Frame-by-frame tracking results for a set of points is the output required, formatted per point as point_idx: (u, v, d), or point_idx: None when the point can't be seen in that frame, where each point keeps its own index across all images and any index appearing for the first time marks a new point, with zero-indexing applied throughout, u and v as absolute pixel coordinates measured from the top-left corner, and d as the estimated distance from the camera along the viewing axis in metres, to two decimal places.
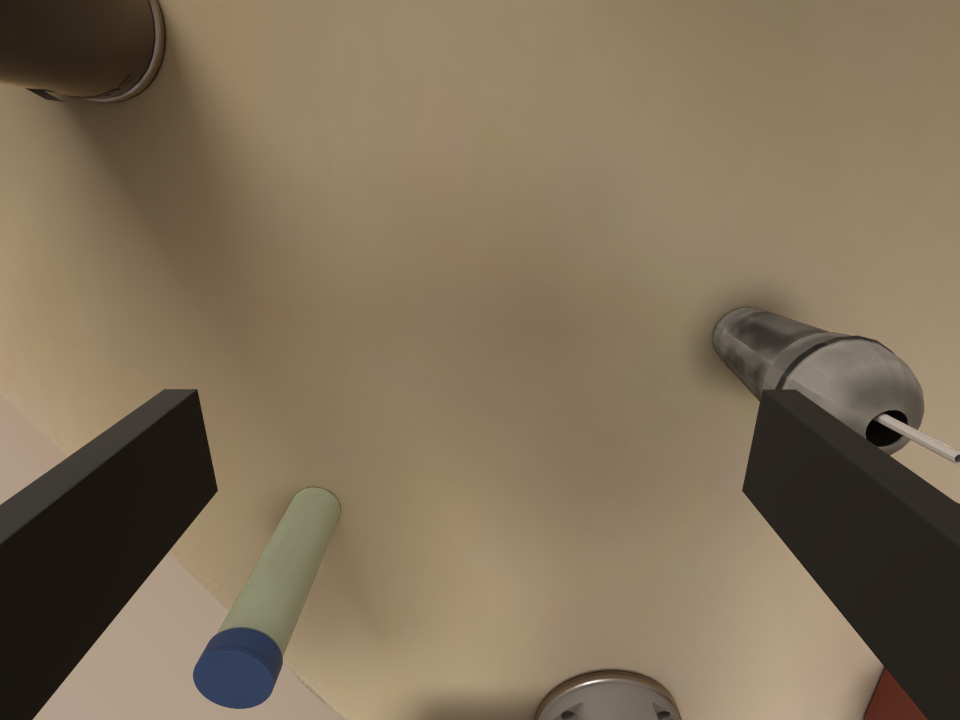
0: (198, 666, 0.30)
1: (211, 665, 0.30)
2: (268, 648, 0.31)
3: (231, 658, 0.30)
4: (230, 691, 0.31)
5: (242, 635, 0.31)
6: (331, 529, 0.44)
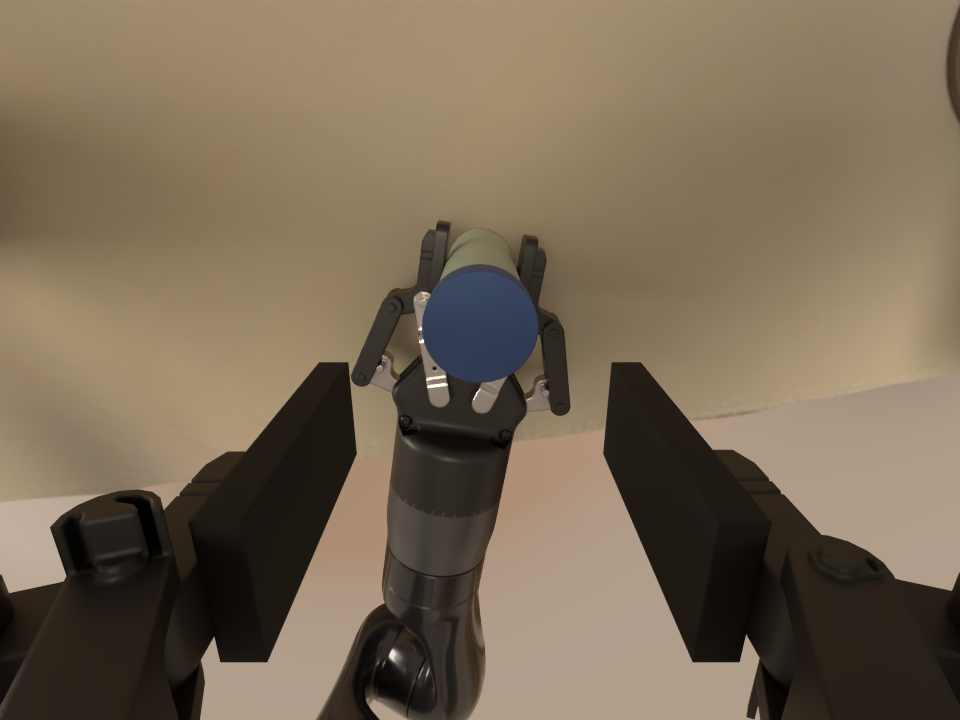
0: (435, 357, 0.21)
1: (441, 340, 0.21)
2: (468, 267, 0.21)
3: (440, 307, 0.21)
4: (496, 344, 0.21)
5: (434, 290, 0.22)
6: (493, 236, 0.33)
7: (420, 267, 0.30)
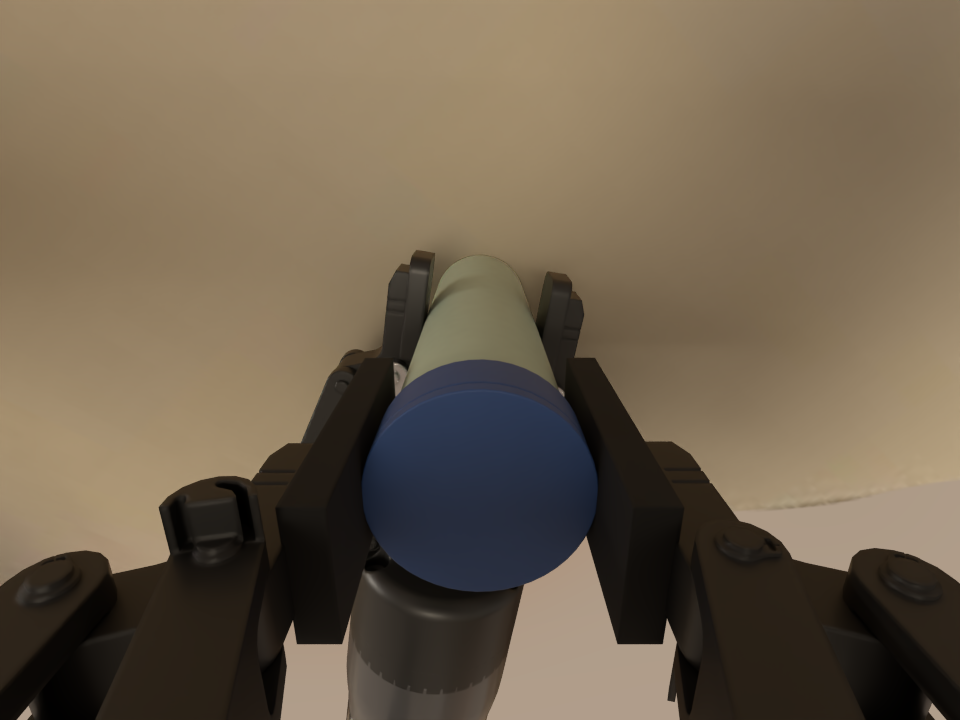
0: (391, 548, 0.11)
1: (401, 518, 0.10)
2: (456, 371, 0.10)
3: (398, 458, 0.10)
4: (512, 525, 0.10)
5: (388, 412, 0.11)
6: (500, 270, 0.22)
7: (386, 324, 0.19)
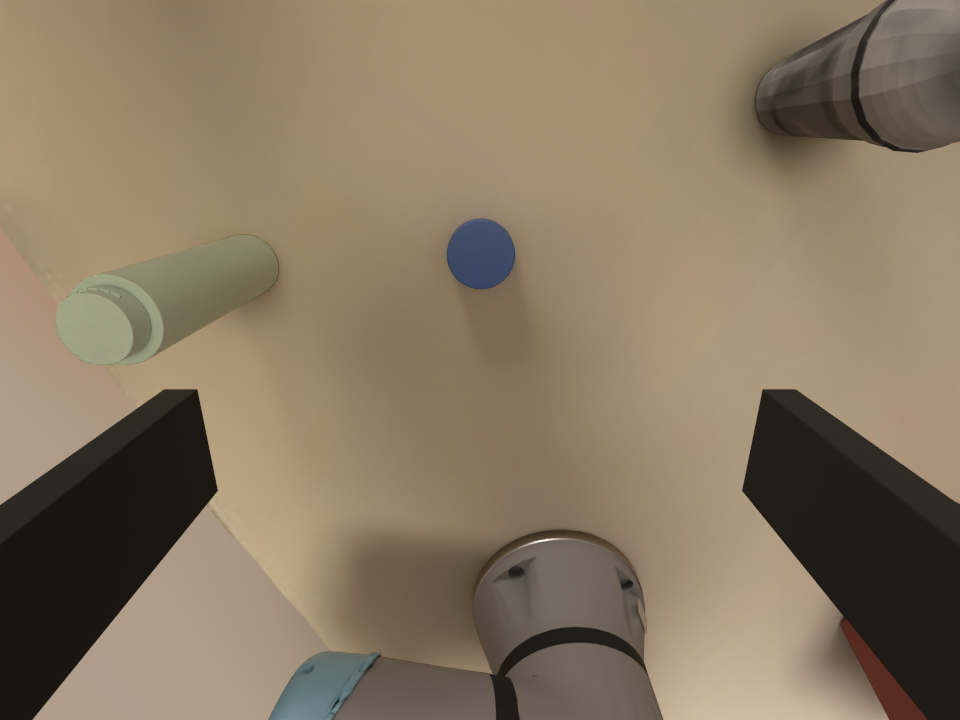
0: (489, 285, 0.37)
1: (480, 279, 0.37)
2: None
3: (461, 273, 0.36)
4: (492, 249, 0.36)
5: None
6: (262, 276, 0.35)
7: None
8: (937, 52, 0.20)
